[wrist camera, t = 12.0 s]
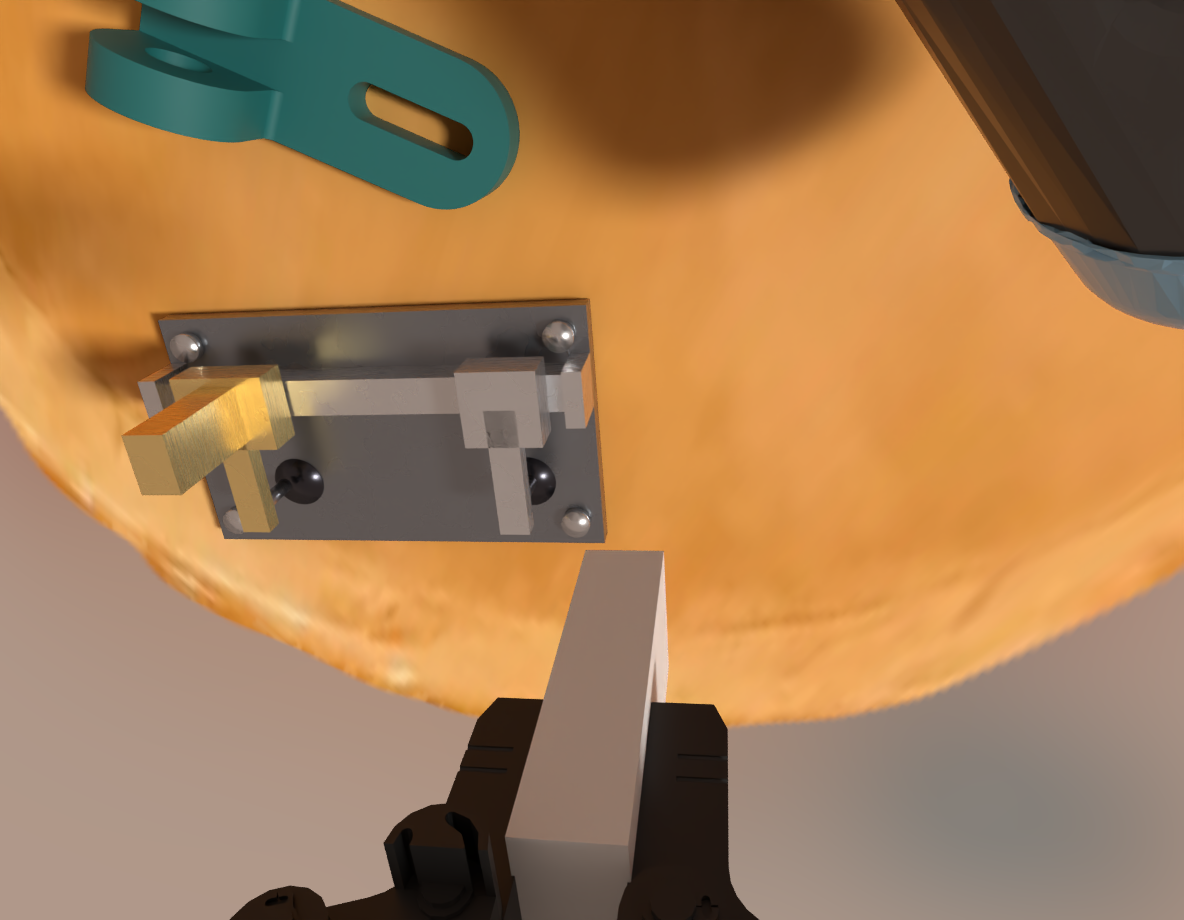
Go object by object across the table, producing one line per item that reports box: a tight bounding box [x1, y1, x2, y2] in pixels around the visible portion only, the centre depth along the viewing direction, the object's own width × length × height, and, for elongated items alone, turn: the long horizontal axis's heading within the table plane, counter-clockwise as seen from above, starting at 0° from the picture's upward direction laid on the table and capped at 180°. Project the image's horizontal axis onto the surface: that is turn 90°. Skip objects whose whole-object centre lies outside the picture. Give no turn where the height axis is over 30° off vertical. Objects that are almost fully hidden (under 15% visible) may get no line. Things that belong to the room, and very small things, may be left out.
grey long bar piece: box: [137, 352, 594, 535], centre depth 44 cm, size 9×24×4 cm, turn 94°
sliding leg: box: [122, 365, 295, 532], centre depth 43 cm, size 9×5×10 cm, turn 4°
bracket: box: [85, 0, 520, 209], centre depth 36 cm, size 18×7×8 cm, turn 68°
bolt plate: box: [158, 299, 607, 543], centre depth 47 cm, size 14×24×2 cm, turn 94°
